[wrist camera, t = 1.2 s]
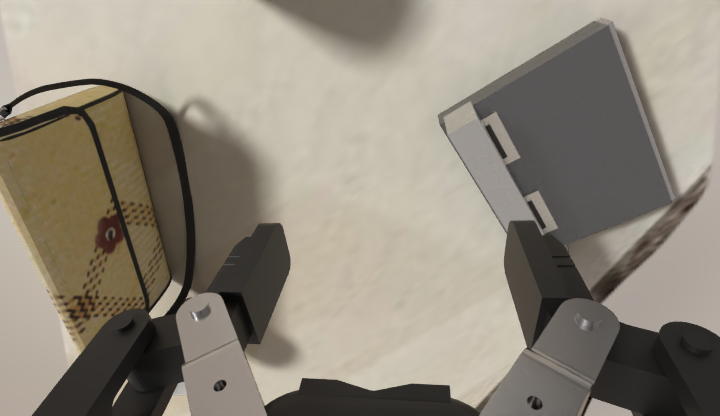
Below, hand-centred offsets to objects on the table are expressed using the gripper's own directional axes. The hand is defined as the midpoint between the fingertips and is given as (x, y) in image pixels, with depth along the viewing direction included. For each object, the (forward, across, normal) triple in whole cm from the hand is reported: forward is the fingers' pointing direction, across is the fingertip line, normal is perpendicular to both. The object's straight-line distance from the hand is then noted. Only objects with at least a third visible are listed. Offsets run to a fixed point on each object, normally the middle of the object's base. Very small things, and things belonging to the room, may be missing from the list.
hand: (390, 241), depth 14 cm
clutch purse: (+25, +28, +12) cm, 39 cm away
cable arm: (+20, -10, +12) cm, 26 cm away
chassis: (+24, -14, +8) cm, 29 cm away
